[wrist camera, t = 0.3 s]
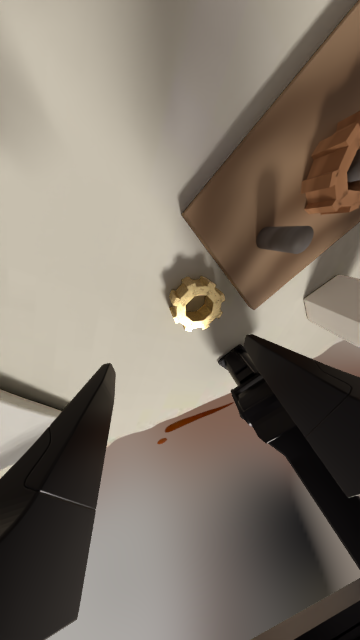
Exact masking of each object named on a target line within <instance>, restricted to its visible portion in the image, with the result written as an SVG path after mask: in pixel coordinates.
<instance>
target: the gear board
mask: <svg viewBox="0 0 360 640" xmlns="http://www.w3.org/2000/svg"><path fill="white" fill-rule="evenodd" d="M181 215H182V216H183V218H184V219H185V221H186V222H187V223H188V225H189V226H190V227H191V229H192V230H193V231H194V233H195V234H196V235H197V237H198V238H199V240H200V241H201V242H202V244H203V245H204V246H205V248H206V249H207V250H208V252H209V253H210V255H211V256H212V257H213V259H214V260H215V261H216V263H217V264H218V265H219V267H220V268H221V270H222V271H223V272H224V274H225V275H226V276H227V278H228V279H229V280H230V282H231V283H232V285H233V286H234V287H235V289H236V290H237V291H238V293H239V294H240V295H241V297H242V298H243V299H244V301H245V302H246V304H247V305H248V306H249V307H250V308H252V309H253V310H255V309H256V308H257V307H259V306H260V305H261V304H262V303H263V302H265V301H266V300H267V299H268V298H269V297H271V296H272V295H273V294H274V293H275V292H277V291H278V290H279V289H280V288H281V287H282V286H284V285H285V284H286V283H287V282H288V281H290V280H291V279H292V278H293V277H294V276H296V275H297V274H298V273H299V272H300V271H302V270H303V269H304V268H305V267H306V266H308V265H309V264H310V263H311V262H312V261H313V260H315V259H316V258H317V257H318V256H319V255H321V254H322V253H323V252H324V251H325V250H327V249H328V248H329V247H330V246H331V245H333V244H334V243H335V242H336V241H337V240H339V239H340V238H341V237H342V236H343V235H344V234H346V233H347V232H348V231H349V230H350V229H352V228H353V227H354V226H355V225H356V224H358V223H359V222H360V0H358V1H357V3H356V4H355V5H354V6H353V7H352V9H351V10H350V11H349V12H348V13H347V15H346V16H345V17H344V18H343V19H342V21H341V22H340V23H339V24H338V26H337V27H336V28H335V29H334V30H333V32H332V33H331V34H330V35H329V36H328V38H327V39H326V40H325V41H324V42H323V44H322V45H321V46H320V47H319V49H318V50H317V51H316V52H315V53H314V55H313V56H312V57H311V58H310V59H309V61H308V62H307V63H306V64H305V65H304V67H303V68H302V69H301V70H300V71H299V73H298V74H297V75H296V76H295V78H294V79H293V80H292V81H291V82H290V84H289V85H288V86H287V87H286V88H285V90H284V91H283V92H282V93H281V94H280V96H279V97H278V98H277V99H276V101H275V102H274V103H273V104H272V105H271V107H270V108H269V109H268V110H267V111H266V113H265V114H264V115H263V116H262V117H261V119H260V120H259V121H258V122H257V123H256V125H255V126H254V127H253V128H252V130H251V131H250V132H249V133H248V134H247V136H246V137H245V138H244V139H243V140H242V142H241V143H240V144H239V145H238V146H237V148H236V149H235V150H234V151H233V153H232V154H231V155H230V156H229V157H228V159H227V160H226V161H225V162H224V163H223V165H222V166H221V167H220V168H219V169H218V171H217V172H216V173H215V174H214V175H213V177H212V178H211V179H210V180H209V182H208V183H207V184H206V185H205V186H204V188H203V189H202V190H201V191H200V192H199V194H198V195H197V196H196V197H195V198H194V200H193V201H192V202H191V203H190V205H189V206H188V207H187V208H186V209H185V211H184V212H183V213H182V214H181Z"/></svg>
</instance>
